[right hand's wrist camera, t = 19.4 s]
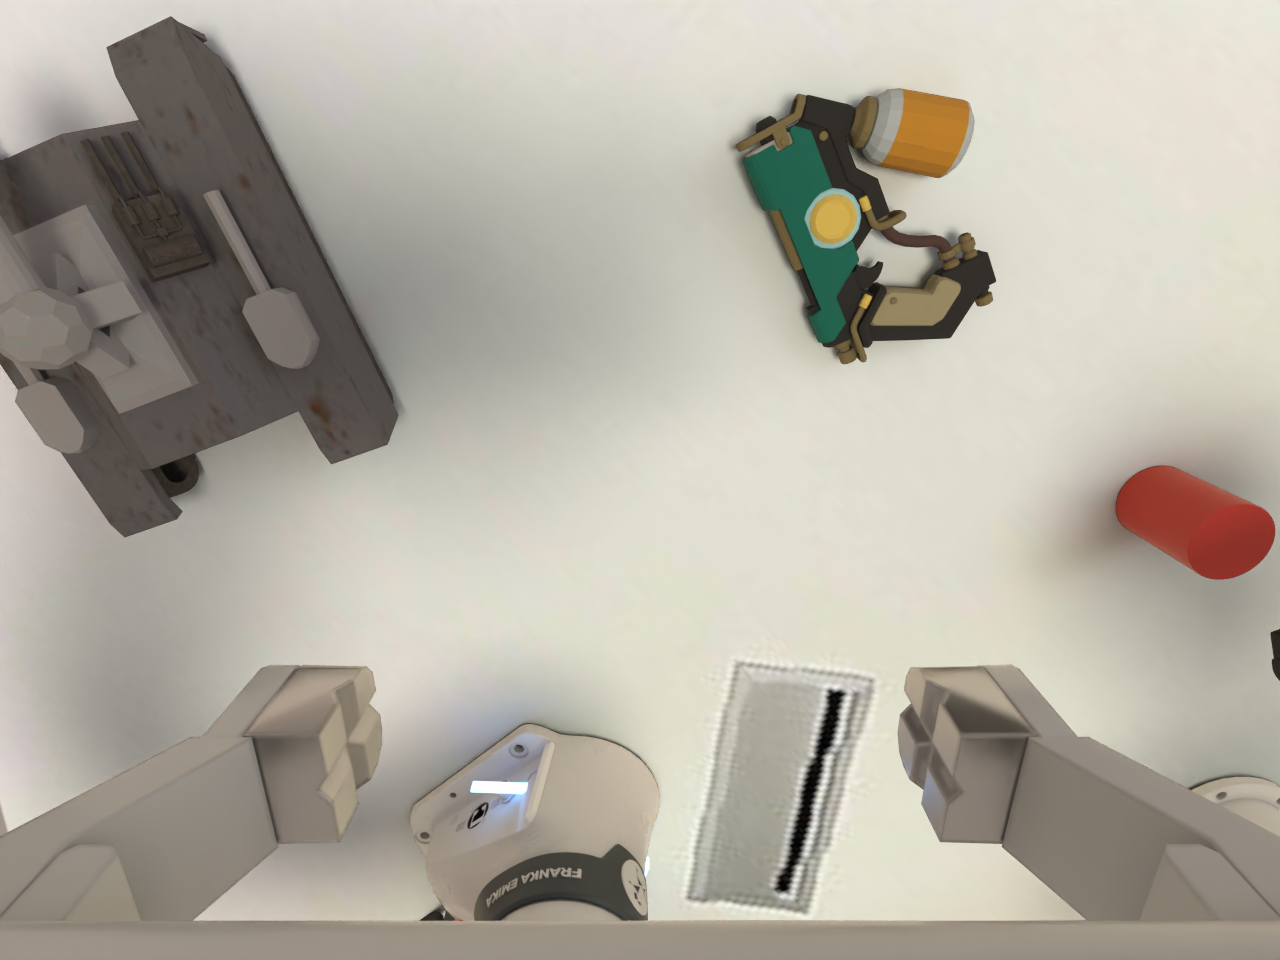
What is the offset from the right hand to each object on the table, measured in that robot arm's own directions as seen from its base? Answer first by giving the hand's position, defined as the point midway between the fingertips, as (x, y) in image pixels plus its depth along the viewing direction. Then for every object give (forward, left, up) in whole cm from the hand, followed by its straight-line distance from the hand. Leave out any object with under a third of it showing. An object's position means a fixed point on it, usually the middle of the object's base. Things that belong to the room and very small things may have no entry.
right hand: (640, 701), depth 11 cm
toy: (-25, +16, -40) cm, 50 cm away
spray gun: (+16, -2, -40) cm, 43 cm away
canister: (+27, -30, -40) cm, 57 cm away
